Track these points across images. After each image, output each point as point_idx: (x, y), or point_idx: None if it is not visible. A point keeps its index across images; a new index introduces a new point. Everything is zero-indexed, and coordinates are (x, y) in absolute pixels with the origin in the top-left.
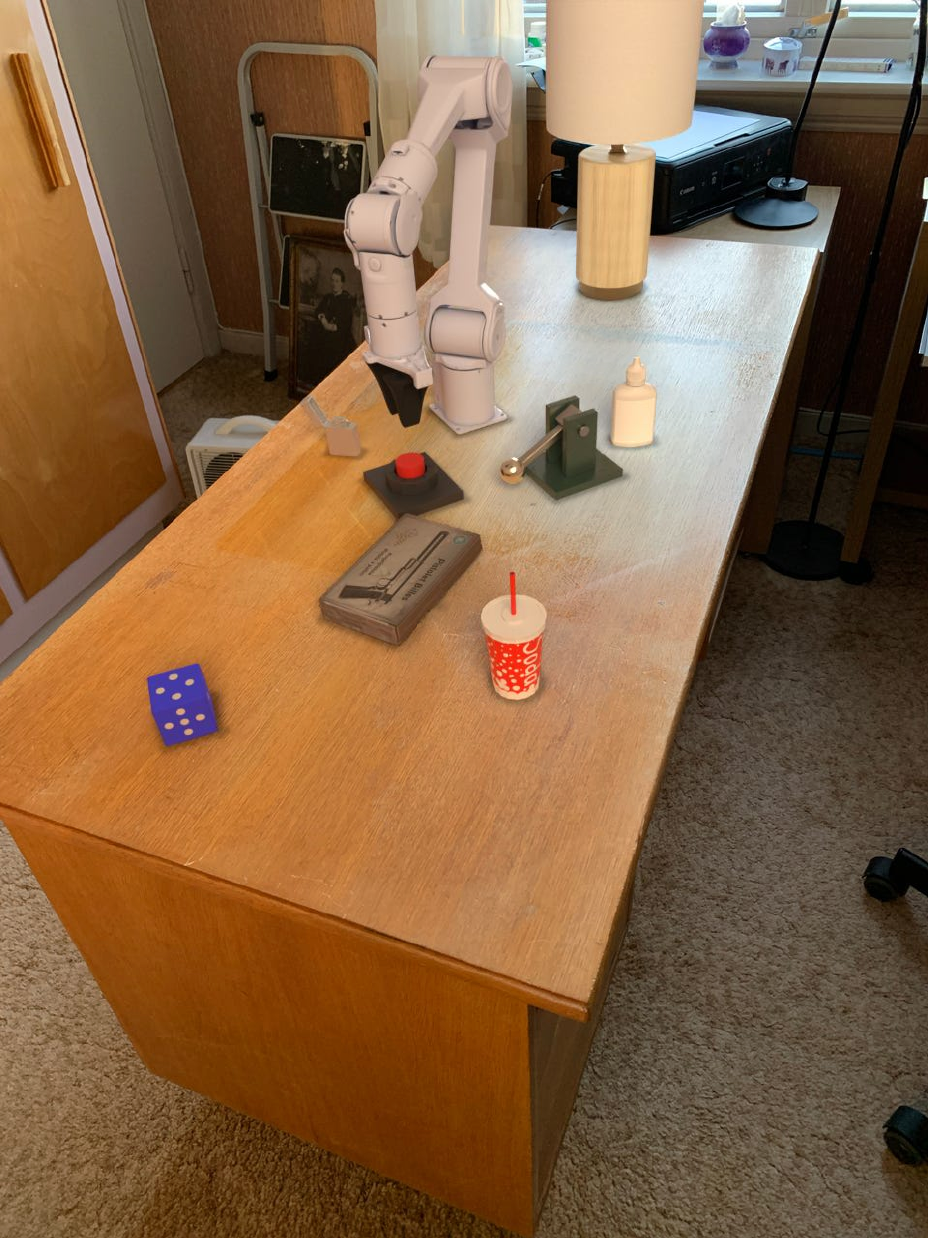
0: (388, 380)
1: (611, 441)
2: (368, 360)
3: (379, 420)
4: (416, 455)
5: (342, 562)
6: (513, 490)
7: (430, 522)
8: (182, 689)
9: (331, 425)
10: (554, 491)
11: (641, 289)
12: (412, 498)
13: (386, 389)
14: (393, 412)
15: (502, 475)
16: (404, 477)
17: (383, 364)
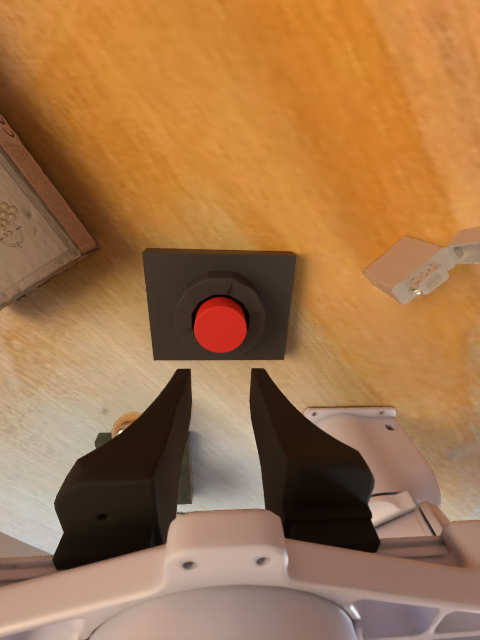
0: (85, 486)
1: (178, 515)
2: (172, 537)
3: (424, 342)
4: (226, 345)
5: (72, 95)
6: (146, 407)
7: (29, 278)
8: None
9: (437, 261)
10: (98, 443)
11: None
12: (172, 291)
13: (265, 415)
14: (251, 375)
15: (127, 417)
16: (205, 302)
17: (131, 553)
